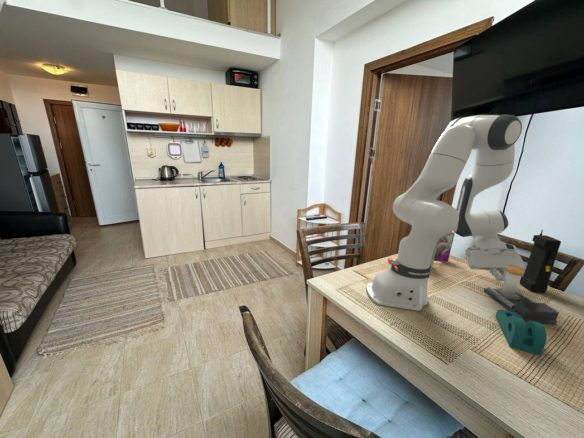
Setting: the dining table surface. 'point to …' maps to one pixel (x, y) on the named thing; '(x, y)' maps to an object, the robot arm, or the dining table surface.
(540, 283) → the portable radio
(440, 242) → the wafer cookie box
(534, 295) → the dining table surface
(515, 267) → the knob
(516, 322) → the bracket
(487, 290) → the mount
